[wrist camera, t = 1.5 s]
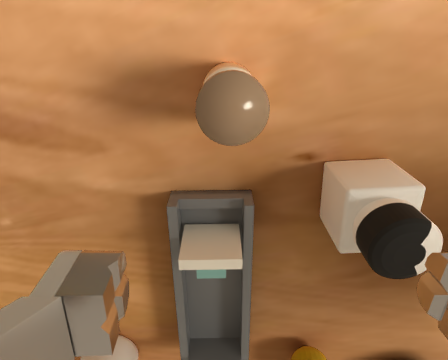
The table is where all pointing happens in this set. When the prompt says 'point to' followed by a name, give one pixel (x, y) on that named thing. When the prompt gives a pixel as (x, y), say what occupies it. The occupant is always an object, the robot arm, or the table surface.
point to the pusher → (210, 249)
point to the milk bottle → (119, 351)
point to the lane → (212, 287)
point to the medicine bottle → (378, 216)
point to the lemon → (307, 354)
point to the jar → (231, 105)
